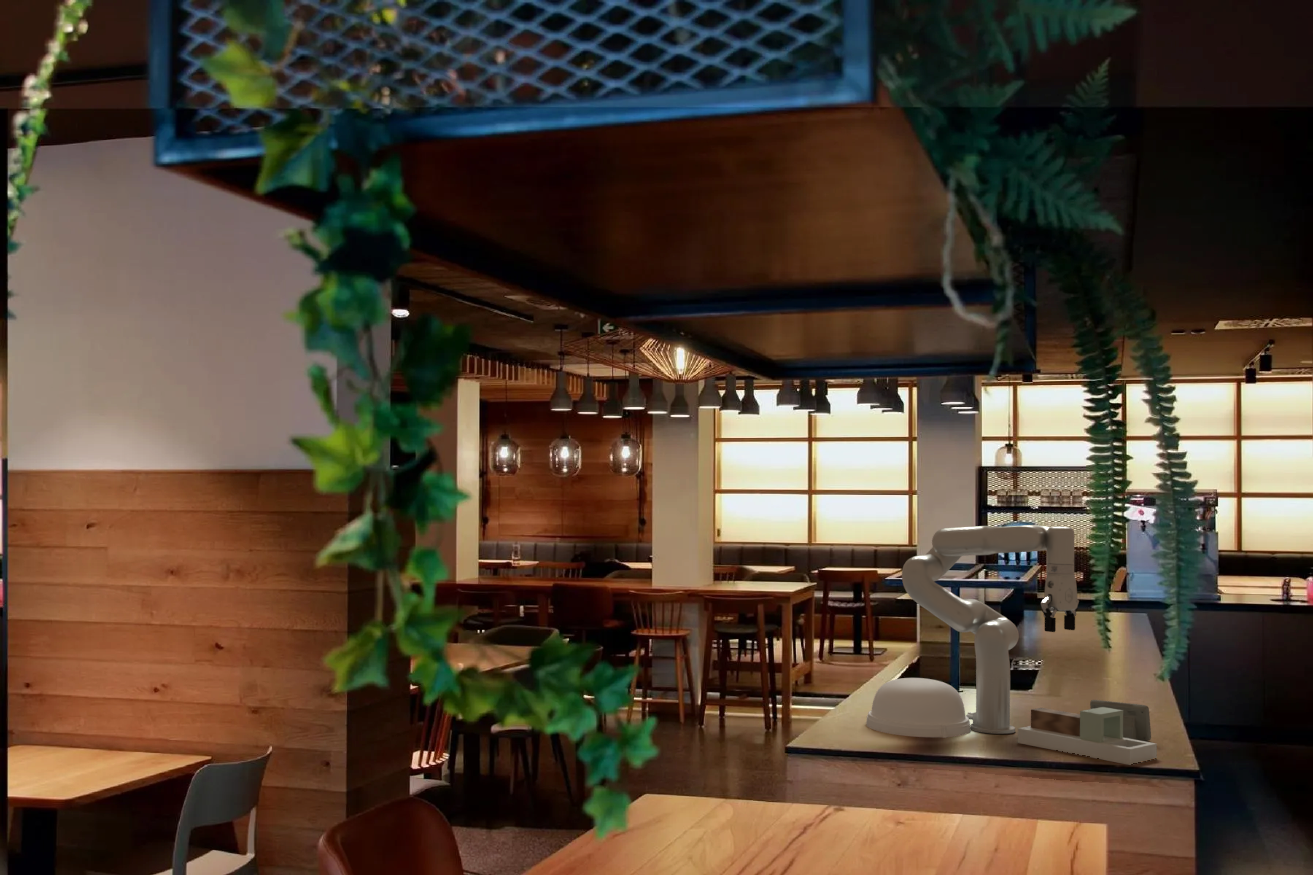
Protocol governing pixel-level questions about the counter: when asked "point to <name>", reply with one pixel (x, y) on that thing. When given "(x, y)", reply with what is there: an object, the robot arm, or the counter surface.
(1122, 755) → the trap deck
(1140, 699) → the counter surface
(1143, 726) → the digital clock
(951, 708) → the dome cover
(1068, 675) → the counter surface
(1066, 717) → the walnut bar
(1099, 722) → the tunnel
